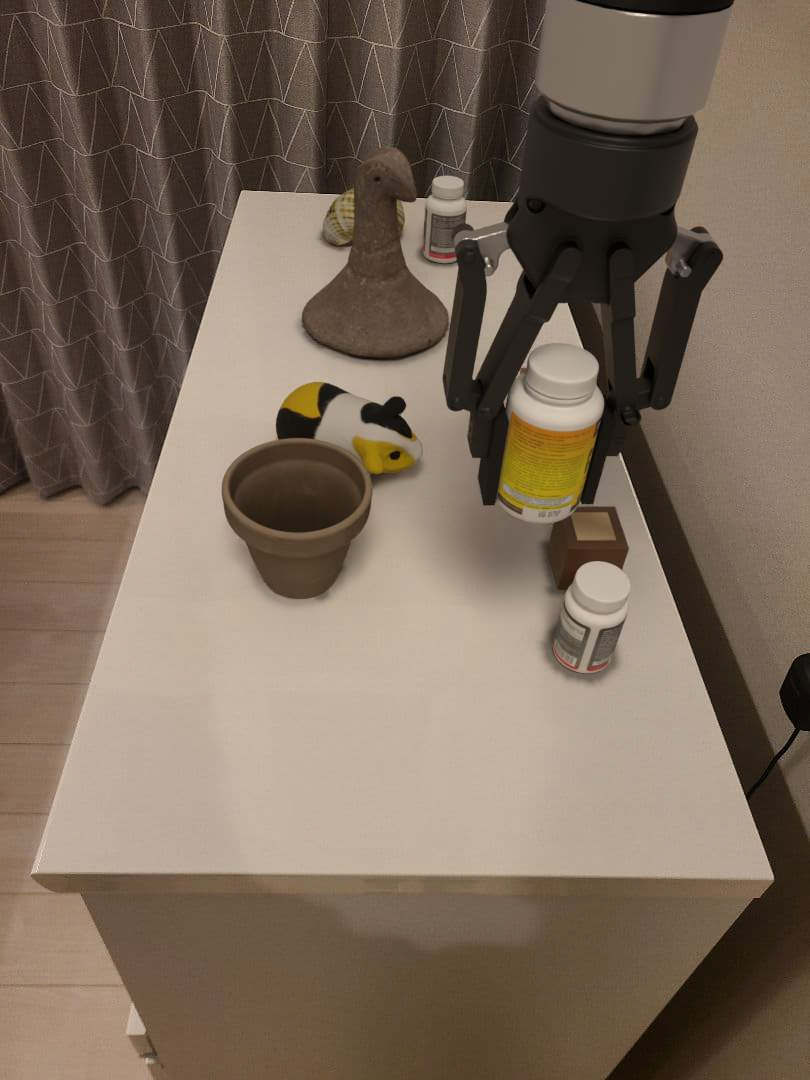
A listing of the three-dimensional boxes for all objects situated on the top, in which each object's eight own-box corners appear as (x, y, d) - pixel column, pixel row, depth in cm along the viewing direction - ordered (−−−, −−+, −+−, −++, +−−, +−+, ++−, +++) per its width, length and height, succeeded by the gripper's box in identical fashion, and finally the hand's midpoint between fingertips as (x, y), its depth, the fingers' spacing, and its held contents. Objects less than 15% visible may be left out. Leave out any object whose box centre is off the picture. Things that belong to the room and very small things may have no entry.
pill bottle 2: (610, 631, 67) (635, 561, 61) (612, 679, 64) (638, 609, 58) (551, 623, 68) (571, 552, 62) (550, 670, 64) (570, 600, 58)
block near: (615, 589, 71) (629, 547, 67) (557, 589, 70) (568, 547, 67) (602, 547, 74) (615, 504, 70) (547, 547, 74) (557, 504, 70)
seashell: (305, 235, 112) (324, 157, 108) (349, 246, 120) (368, 173, 116) (363, 256, 107) (385, 175, 104) (404, 266, 115) (426, 191, 112)
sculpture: (427, 374, 92) (441, 194, 77) (282, 347, 94) (270, 167, 80) (460, 300, 103) (477, 131, 89) (330, 278, 106) (327, 109, 92)
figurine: (399, 512, 76) (403, 443, 70) (260, 460, 80) (253, 391, 75) (437, 461, 81) (443, 393, 76) (304, 415, 86) (301, 347, 80)
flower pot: (397, 560, 72) (402, 471, 65) (316, 647, 65) (312, 558, 58) (291, 506, 76) (285, 417, 69) (205, 582, 69) (188, 492, 62)
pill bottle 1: (470, 257, 111) (478, 183, 104) (440, 268, 109) (447, 194, 102) (443, 242, 114) (449, 169, 107) (413, 252, 112) (417, 179, 105)
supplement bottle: (588, 526, 52) (626, 389, 44) (500, 529, 51) (524, 391, 44) (567, 468, 56) (599, 333, 48) (485, 470, 55) (505, 334, 48)
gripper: (784, 81, 40) (658, 452, 57) (402, 70, 39) (387, 454, 55) (853, 139, 35) (692, 529, 52) (414, 129, 34) (393, 534, 50)
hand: (534, 490), depth 54 cm, fingers closed on supplement bottle, 6 cm apart
